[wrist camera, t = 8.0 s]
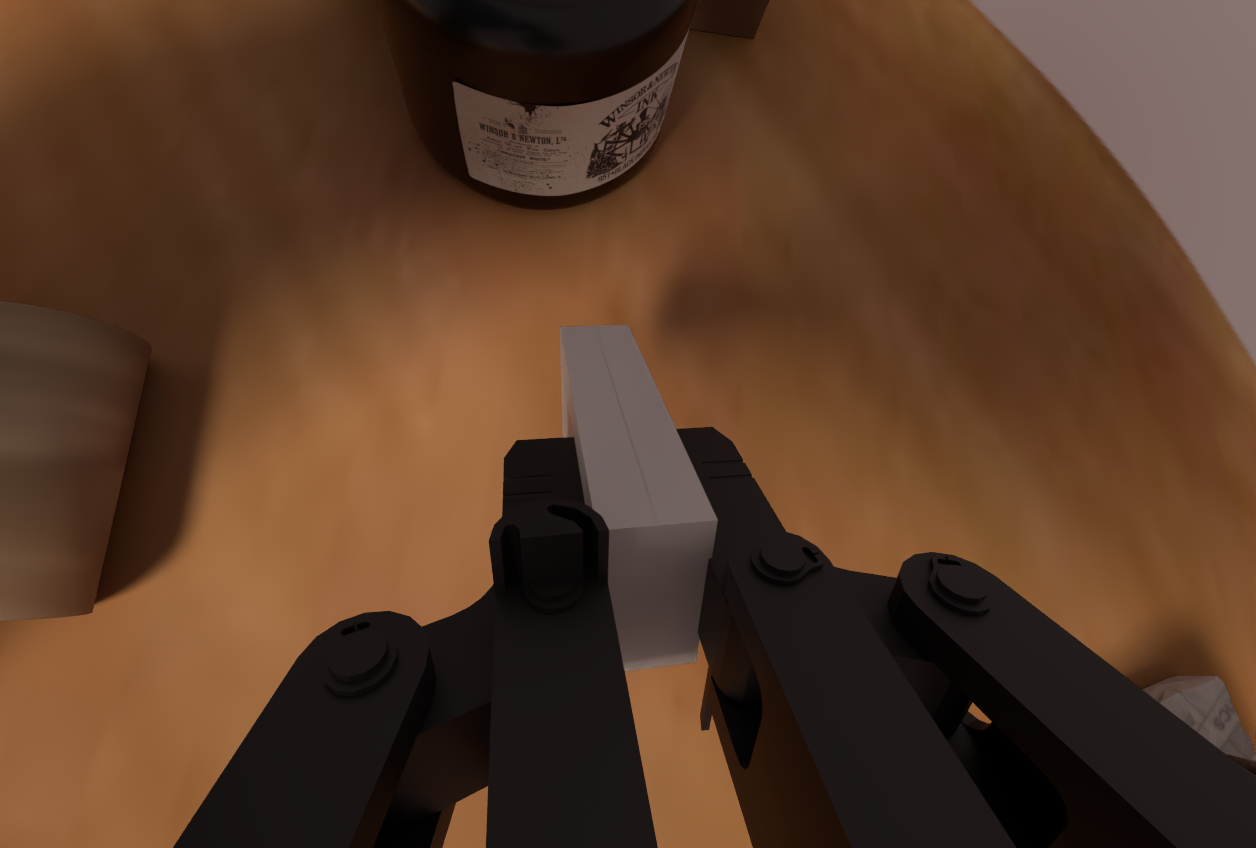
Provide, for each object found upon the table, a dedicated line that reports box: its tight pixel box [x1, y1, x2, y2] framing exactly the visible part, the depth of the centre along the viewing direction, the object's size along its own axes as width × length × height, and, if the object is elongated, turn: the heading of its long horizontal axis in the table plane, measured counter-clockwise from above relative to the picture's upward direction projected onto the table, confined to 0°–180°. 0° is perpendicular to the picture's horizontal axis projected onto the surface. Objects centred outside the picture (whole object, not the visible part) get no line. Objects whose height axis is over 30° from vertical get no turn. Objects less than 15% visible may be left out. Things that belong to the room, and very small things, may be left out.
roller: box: [0, 301, 151, 621], centre depth 14 cm, size 7×4×4 cm, turn 179°
